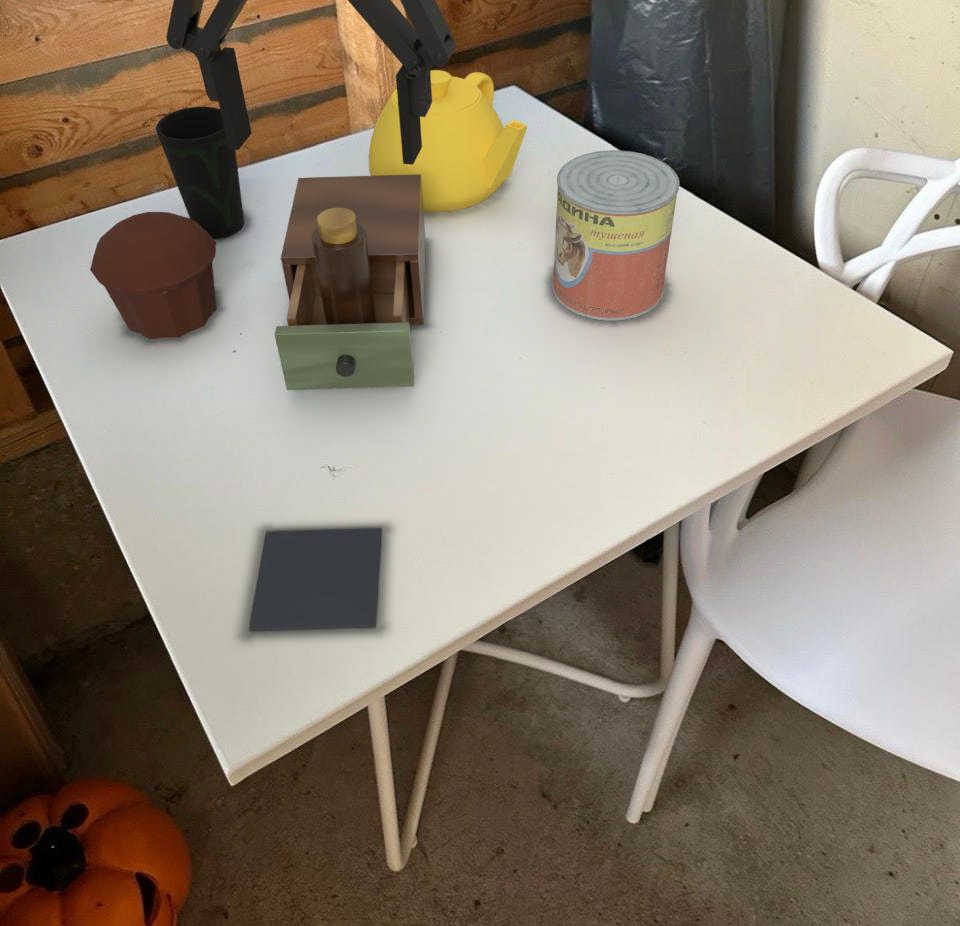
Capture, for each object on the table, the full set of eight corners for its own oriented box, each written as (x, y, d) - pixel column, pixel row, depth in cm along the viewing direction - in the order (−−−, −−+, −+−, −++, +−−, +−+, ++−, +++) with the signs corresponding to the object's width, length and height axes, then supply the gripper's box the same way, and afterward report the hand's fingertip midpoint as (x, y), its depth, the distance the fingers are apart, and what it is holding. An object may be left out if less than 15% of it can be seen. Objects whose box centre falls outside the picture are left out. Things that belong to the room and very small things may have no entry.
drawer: (413, 395, 82) (408, 339, 78) (285, 399, 82) (272, 343, 78) (417, 297, 92) (413, 242, 88) (303, 300, 92) (292, 246, 88)
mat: (249, 631, 66) (248, 628, 66) (266, 534, 72) (265, 531, 72) (375, 627, 66) (374, 624, 66) (381, 531, 72) (381, 527, 72)
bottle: (326, 353, 85) (305, 233, 76) (331, 322, 88) (311, 203, 79) (377, 351, 85) (362, 231, 76) (379, 321, 88) (365, 202, 79)
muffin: (118, 359, 88) (83, 270, 81) (105, 295, 95) (72, 208, 88) (242, 328, 91) (219, 240, 84) (220, 269, 98) (198, 183, 91)
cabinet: (423, 324, 91) (417, 253, 85) (294, 328, 91) (280, 257, 85) (425, 242, 101) (421, 173, 95) (310, 245, 101) (298, 177, 95)
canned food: (531, 275, 96) (534, 168, 88) (622, 245, 100) (633, 139, 91) (590, 333, 89) (600, 224, 81) (685, 299, 93) (704, 191, 84)
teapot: (342, 190, 109) (327, 82, 100) (442, 128, 119) (437, 26, 110) (477, 245, 100) (475, 133, 91) (573, 174, 111) (579, 67, 101)
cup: (172, 239, 102) (141, 136, 94) (202, 204, 107) (176, 103, 99) (236, 247, 101) (211, 143, 92) (264, 211, 106) (243, 109, 97)
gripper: (495, -200, 55) (497, 137, 70) (110, -209, 59) (191, 113, 74) (469, -170, 50) (477, 187, 65) (50, -181, 54) (150, 158, 69)
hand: (325, 148), depth 70 cm, fingers open, 13 cm apart
